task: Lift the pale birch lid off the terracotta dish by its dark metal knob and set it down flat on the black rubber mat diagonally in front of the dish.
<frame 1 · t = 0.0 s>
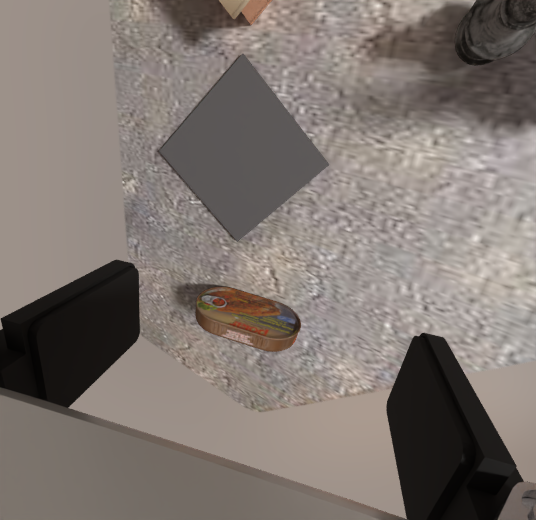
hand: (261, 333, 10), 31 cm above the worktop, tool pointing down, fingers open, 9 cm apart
salt shaker: (483, 34, 30), on the worktop
mat: (241, 157, 39), on the worktop
tin: (254, 302, 46), on the worktop
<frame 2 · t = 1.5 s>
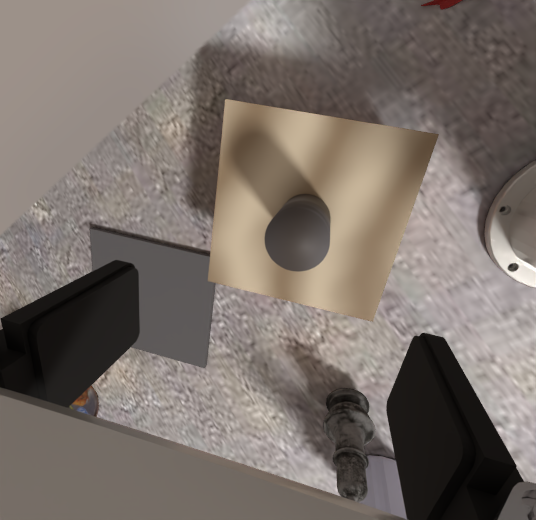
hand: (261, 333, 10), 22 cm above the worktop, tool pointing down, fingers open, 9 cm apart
lid: (305, 216, 25), point 6 cm above the worktop, touching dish
salt shaker: (347, 403, 38), on the worktop
mat: (153, 299, 38), on the worktop
tin: (75, 372, 47), on the worktop
soap bottle: (376, 475, 42), on the worktop
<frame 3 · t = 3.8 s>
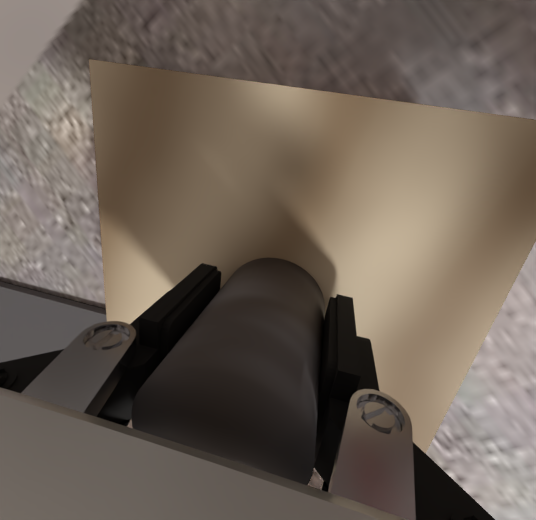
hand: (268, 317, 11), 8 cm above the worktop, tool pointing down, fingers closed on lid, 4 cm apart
lid: (277, 293, 13), point 6 cm above the worktop, touching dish, gripper
mat: (75, 376, 27), on the worktop
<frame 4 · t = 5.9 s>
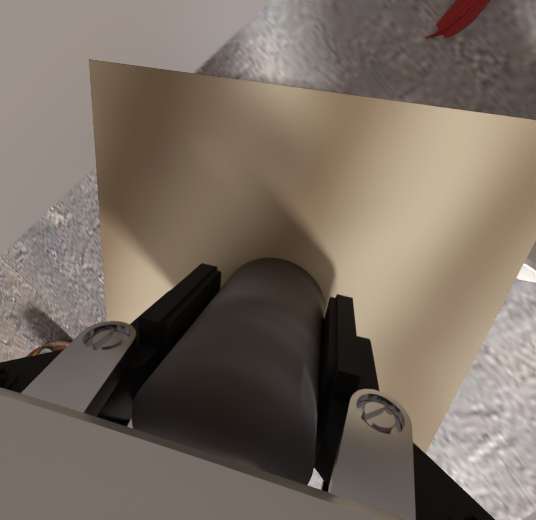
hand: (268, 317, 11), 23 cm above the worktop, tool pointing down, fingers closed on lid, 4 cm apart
lid: (277, 294, 13), point 21 cm above the worktop, touching gripper
tin: (89, 368, 49), on the worktop
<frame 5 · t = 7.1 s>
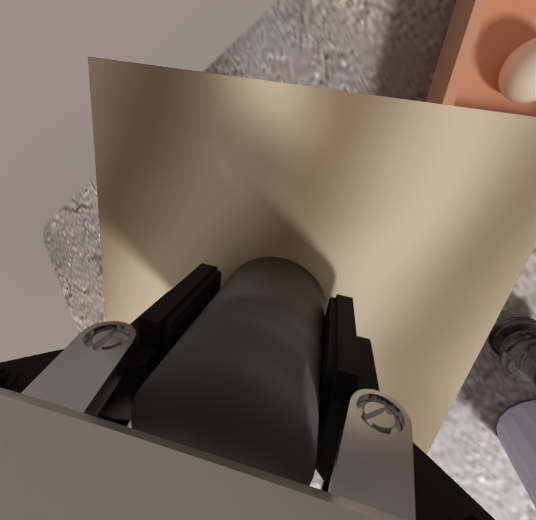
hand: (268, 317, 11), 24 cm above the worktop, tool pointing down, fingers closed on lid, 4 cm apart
lid: (278, 293, 13), point 22 cm above the worktop, touching gripper
salt shaker: (515, 337, 33), on the worktop
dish: (516, 77, 25), on the worktop
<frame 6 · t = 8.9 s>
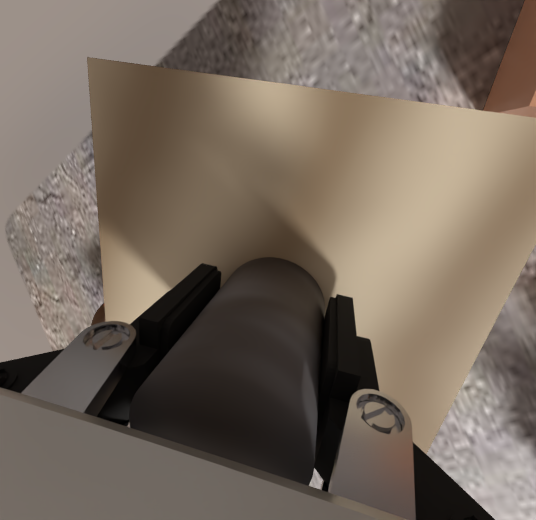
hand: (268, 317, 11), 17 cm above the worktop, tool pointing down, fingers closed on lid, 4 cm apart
lid: (277, 293, 13), point 16 cm above the worktop, touching gripper
when the fingers open (4 cm above the worktop, at t = 11.5 s): lid drops 2 cm, resting on mat.
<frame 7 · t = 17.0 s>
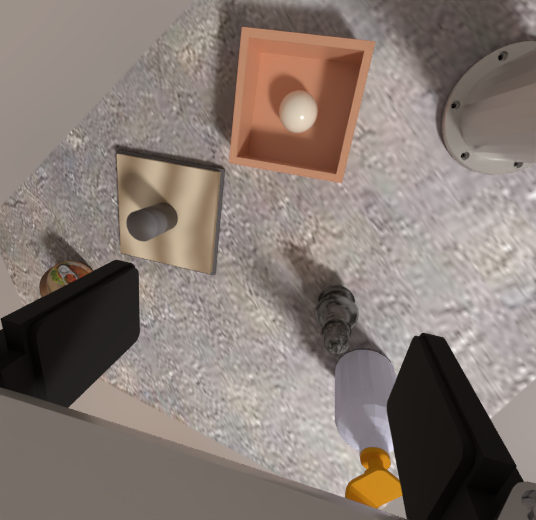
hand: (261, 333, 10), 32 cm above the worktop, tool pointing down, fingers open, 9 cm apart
lid: (168, 214, 45), point 1 cm above the worktop, touching mat
salt shaker: (336, 301, 45), on the worktop
mat: (169, 214, 45), on the worktop
tin: (101, 292, 54), on the worktop
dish: (300, 114, 37), on the worktop
soap bottle: (364, 370, 48), on the worktop
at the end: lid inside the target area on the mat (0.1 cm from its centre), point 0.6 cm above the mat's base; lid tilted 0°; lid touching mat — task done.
